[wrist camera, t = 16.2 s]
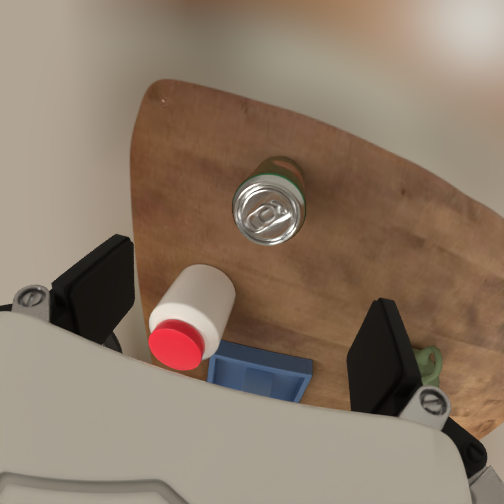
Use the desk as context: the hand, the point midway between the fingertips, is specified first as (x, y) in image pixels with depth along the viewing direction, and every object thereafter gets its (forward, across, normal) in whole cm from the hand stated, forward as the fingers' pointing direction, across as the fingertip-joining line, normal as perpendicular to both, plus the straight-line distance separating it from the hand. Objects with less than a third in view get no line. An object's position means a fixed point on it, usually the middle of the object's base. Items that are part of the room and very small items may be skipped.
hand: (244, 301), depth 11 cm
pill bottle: (+21, +6, +15) cm, 27 cm away
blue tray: (+21, -3, +28) cm, 35 cm away
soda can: (+22, 0, 0) cm, 22 cm away
